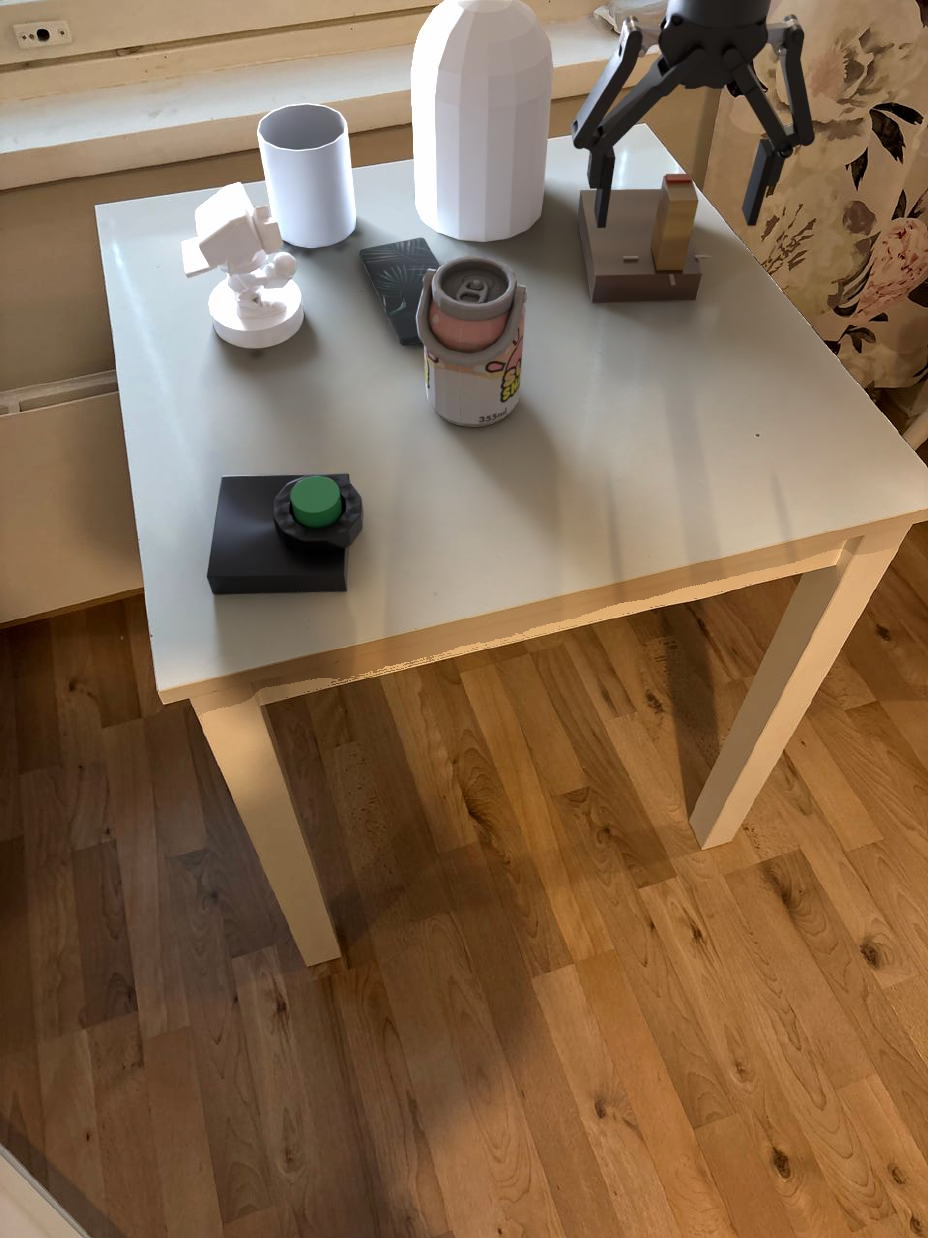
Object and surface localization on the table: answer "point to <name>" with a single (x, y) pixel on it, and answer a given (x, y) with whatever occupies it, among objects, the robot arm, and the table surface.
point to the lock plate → (631, 251)
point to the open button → (316, 501)
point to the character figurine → (245, 271)
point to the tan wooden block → (674, 221)
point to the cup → (308, 174)
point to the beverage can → (472, 339)
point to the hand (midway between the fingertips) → (674, 218)
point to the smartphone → (400, 281)
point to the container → (481, 118)
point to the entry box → (279, 538)
